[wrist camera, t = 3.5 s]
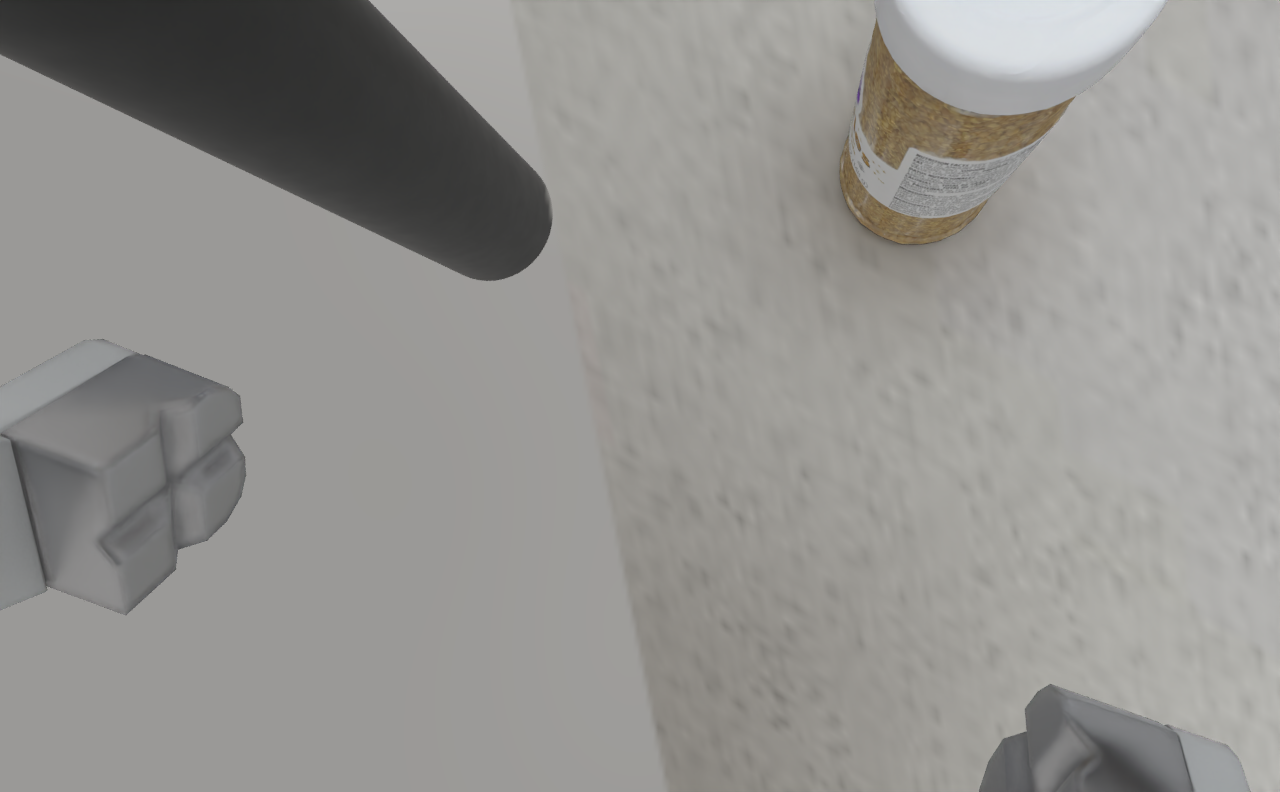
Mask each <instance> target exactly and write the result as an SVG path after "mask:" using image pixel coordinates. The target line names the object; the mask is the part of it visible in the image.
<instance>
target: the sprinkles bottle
mask: <svg viewBox="0 0 1280 792" xmlns="http://www.w3.org/2000/svg"><path fill="white" fill-rule="evenodd" d="M1167 1H1168V0H875V10H876V17H877V18H876V24H875V28H874V31H873V36H872V40H871V42H870V44H869V48H868V51H867V54H866V59H865V63H864V68H863V72H862V76H861V80H860V85H859V89H858V93H857V97H856V102H855V107H854V111H853V115H852V119H851V124H850V130H849V136H848V138H847V140H846V143H845V146H844V150H843V152H842V156H841V159H840V183H841V187H842V191H843V194H844V197H845V200H846V202H847V205H848V207H849V209H850V210H851V211H852V213H853V214H854V215H855V216H856V218H857V219H858V220H859V221H860V222H861V223H862V224H863V225H864V226H866V227H867V228H869V229H870V230H871V231H872V232H874V233H875V234H877V235H879V236H882V237H884V238H886V239H889V240H892V241H894V242H897V243H900V244H925V243H930V242H935V241H940V240H942V239H944V238H946V237H949V236H951V235H953V234H955V233H957V232H959V231H960V230H961V229H963V228H964V227H965V226H966V225H967V224H968V223H969V222H971V221H972V220H973V219H974V218H975V217H976V216H977V215H978V213H979V212H980V210H981V209H982V208H983V206H984V205H985V203H986V202H987V200H988V198H989V197H990V196H991V195H992V194H993V193H995V192H996V190H997V189H998V188H999V187H1000V186H1001V185H1002V184H1003V183H1004V182H1005V181H1006V180H1007V179H1008V178H1009V176H1010V175H1011V174H1012V173H1013V172H1014V171H1015V170H1016V169H1017V167H1018V166H1019V165H1020V164H1021V163H1022V162H1023V161H1024V160H1025V159H1026V157H1027V156H1028V155H1029V154H1030V153H1031V152H1032V151H1033V149H1034V148H1035V147H1036V146H1037V145H1038V144H1039V143H1040V141H1041V140H1042V139H1043V138H1044V137H1045V136H1046V135H1047V133H1048V132H1049V131H1050V130H1051V129H1052V128H1053V126H1054V125H1055V124H1056V123H1057V122H1058V121H1059V119H1060V118H1061V117H1062V115H1063V114H1064V113H1065V111H1066V109H1067V107H1068V106H1069V104H1070V103H1071V101H1072V100H1073V99H1074V98H1075V97H1076V96H1077V95H1079V94H1081V93H1082V92H1084V91H1085V90H1087V89H1088V88H1090V87H1091V86H1093V85H1094V84H1095V83H1097V82H1098V81H1099V80H1101V79H1102V78H1103V77H1104V76H1105V75H1106V74H1107V73H1108V72H1109V71H1110V70H1111V69H1112V68H1113V67H1114V66H1116V65H1117V64H1118V63H1119V62H1120V60H1121V59H1122V58H1123V57H1124V56H1125V55H1126V54H1127V53H1128V52H1129V50H1130V49H1131V48H1132V47H1133V46H1134V45H1135V44H1136V42H1137V41H1138V40H1139V39H1140V38H1141V37H1142V35H1143V34H1144V33H1145V32H1146V30H1147V29H1148V28H1149V27H1150V25H1151V24H1152V23H1153V22H1154V20H1155V19H1156V18H1157V16H1158V15H1159V13H1160V12H1161V11H1162V9H1163V7H1164V6H1165V4H1166V3H1167Z"/></svg>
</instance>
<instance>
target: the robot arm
mask: <svg viewBox="0 0 1280 792" xmlns="http://www.w3.org/2000/svg"><path fill="white" fill-rule="evenodd" d="M242 423H243V418H242V409H241V400H240V396H239V395H238V394H237V393H236V392H234V391H233V390H232V389H230V388H229V387H227V386H224V385H222V384H219V383H217V382H214V381H212V380H209V379H207V378H204V377H201V376H199V375H196V374H194V373H191V372H189V371H186V370H184V369H181V368H178V367H176V366H173V365H171V364H168V363H166V362H163V361H161V360H158V359H155V358H153V357H150V356H148V355H141V354H139V353H137V352H134V351H131V350H129V349H127V348H124V347H122V346H119V345H117V344H114V343H112V342H109V341H107V340H104V339H97V340H84V341H82V342H80V343H78V344H76V345H75V346H73V347H71V348H69V349H67V350H66V351H64V352H62V353H60V354H59V355H56V356H55V357H53V358H51V359H49V360H48V361H46V362H44V363H42V364H40V365H38V366H36V367H35V368H33V369H31V370H29V371H28V372H26V373H24V374H22V375H20V376H19V377H17V378H15V379H13V380H11V381H10V382H8V383H6V384H4V385H2V386H0V610H2V609H5V608H7V607H10V606H12V605H14V604H17V603H19V602H22V601H24V600H27V599H29V598H32V597H34V596H37V595H39V594H42V593H44V592H46V591H47V587H46V586H48V587H51V588H53V589H56V590H59V591H61V592H64V593H67V594H69V595H72V596H75V597H78V598H80V599H83V600H86V601H88V602H91V603H94V604H97V605H99V606H102V607H104V608H107V609H110V610H113V611H115V612H118V613H121V614H123V615H127V614H128V613H129V612H130V611H131V610H132V609H133V608H134V607H136V606H137V605H138V604H139V603H140V602H141V601H142V600H143V599H144V598H145V597H146V596H148V595H149V594H150V593H151V592H152V591H153V590H154V589H155V588H156V587H157V586H158V585H160V584H161V583H162V582H163V581H164V580H165V579H166V578H167V577H168V576H169V575H170V574H172V573H173V572H174V571H175V570H176V563H177V554H178V550H179V549H181V548H184V547H188V546H191V545H194V544H197V543H201V542H204V541H207V540H208V539H209V538H210V537H211V536H212V535H213V534H214V533H215V532H216V531H217V530H218V529H219V528H220V527H222V525H224V523H226V522H227V520H228V518H229V517H230V515H231V513H232V511H233V510H234V508H235V506H236V504H237V503H238V501H239V499H240V498H241V495H242V490H243V486H244V482H245V477H246V468H245V456H244V454H243V453H242V451H241V450H240V449H239V447H238V445H237V444H236V442H235V440H234V439H233V437H232V436H231V434H232V433H233V432H234V431H235V430H236V429H237V428H238V427H239V426H240V425H241V424H242ZM1025 717H1026V728H1027V732H1023V733H1020V734H1017V735H1014V736H1011V737H1008V738H1004V739H1003V740H1002V742H1001V743H1000V745H999V746H998V748H997V749H996V751H995V752H994V754H993V756H992V757H991V759H990V760H989V762H988V765H987V768H986V771H985V774H984V777H983V780H982V783H981V786H980V789H979V792H1251V791H1250V789H1249V786H1248V783H1247V780H1246V777H1245V774H1244V771H1243V768H1242V765H1241V762H1240V760H1239V758H1238V757H1237V755H1236V754H1235V753H1234V752H1233V751H1232V750H1231V748H1230V747H1229V746H1228V745H1225V744H1222V743H1220V742H1217V741H1214V740H1211V739H1208V738H1205V737H1202V736H1199V735H1196V734H1194V733H1191V732H1188V731H1185V730H1182V729H1179V728H1176V727H1173V726H1170V725H1163V724H1161V723H1159V722H1157V721H1154V720H1151V719H1148V718H1146V717H1143V716H1140V715H1137V714H1134V713H1131V712H1129V711H1126V710H1123V709H1120V708H1117V707H1114V706H1112V705H1109V704H1106V703H1103V702H1100V701H1097V700H1095V699H1092V698H1089V697H1086V696H1083V695H1080V694H1078V693H1075V692H1072V691H1069V690H1066V689H1063V688H1061V687H1058V686H1055V685H1052V684H1049V685H1048V686H1046V687H1045V688H1043V689H1041V690H1040V691H1038V692H1037V693H1036V695H1035V696H1034V697H1033V699H1032V700H1031V701H1030V703H1029V704H1028V705H1027V707H1026V708H1025Z"/></svg>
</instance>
